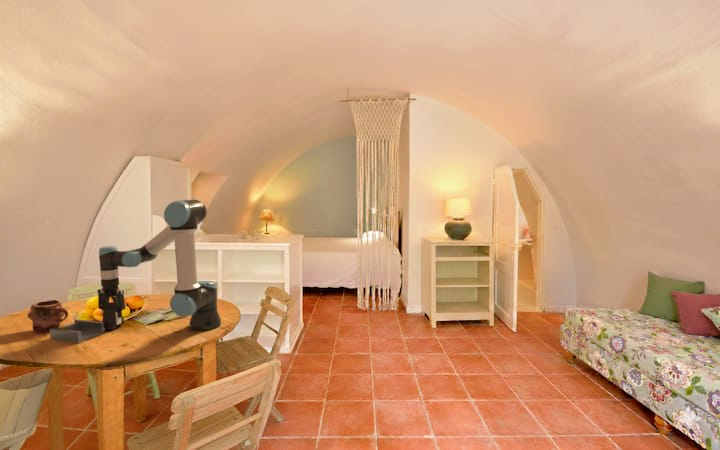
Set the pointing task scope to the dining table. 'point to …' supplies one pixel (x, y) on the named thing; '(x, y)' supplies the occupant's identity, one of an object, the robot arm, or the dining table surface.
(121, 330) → the dining table surface
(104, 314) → the door stopper
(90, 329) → the bracket
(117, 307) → the robot arm
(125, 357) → the dining table surface
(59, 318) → the brown clay mug
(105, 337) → the dining table surface
